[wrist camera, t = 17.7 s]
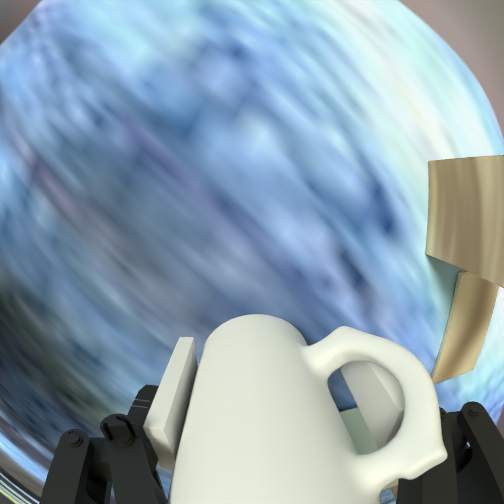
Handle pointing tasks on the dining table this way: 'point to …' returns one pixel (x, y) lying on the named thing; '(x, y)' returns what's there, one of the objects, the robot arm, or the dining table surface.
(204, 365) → the mug
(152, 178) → the dining table surface
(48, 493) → the robot arm
